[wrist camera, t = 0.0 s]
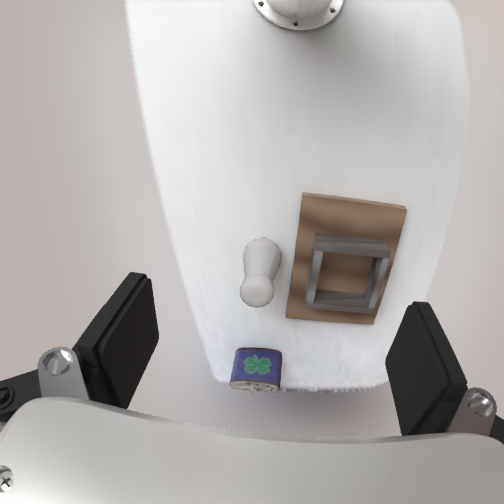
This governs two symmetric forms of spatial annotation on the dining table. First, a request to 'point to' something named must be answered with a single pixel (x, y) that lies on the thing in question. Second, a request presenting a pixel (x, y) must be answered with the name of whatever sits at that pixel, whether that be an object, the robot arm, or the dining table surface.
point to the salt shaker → (259, 272)
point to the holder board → (342, 258)
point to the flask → (256, 370)
